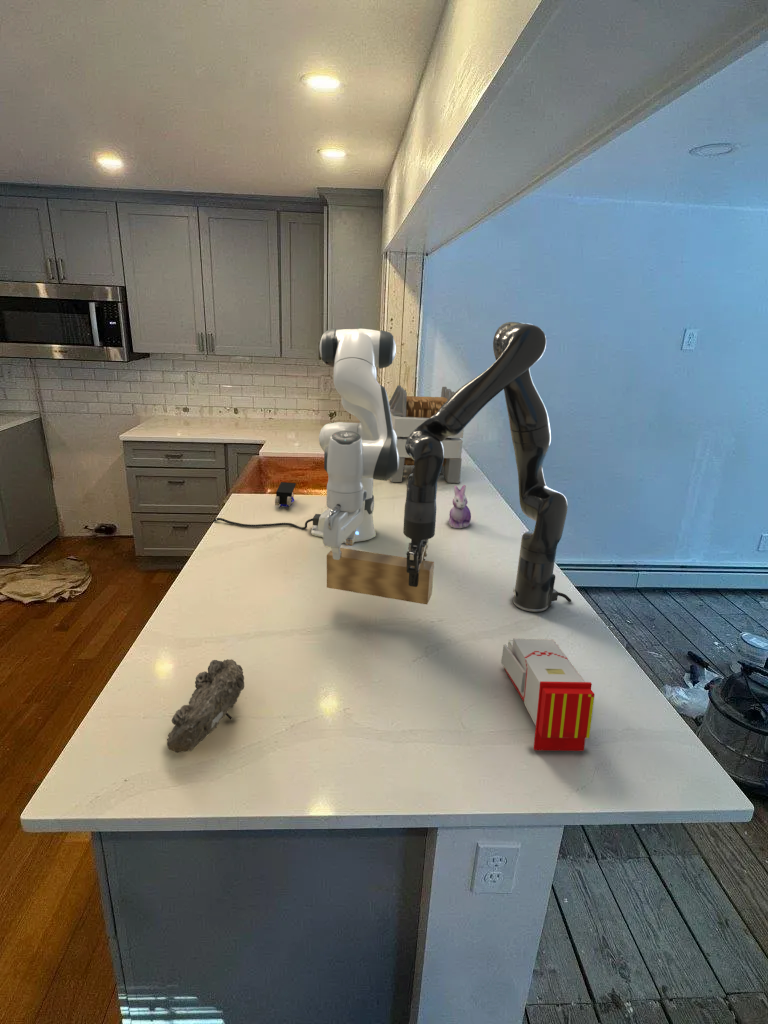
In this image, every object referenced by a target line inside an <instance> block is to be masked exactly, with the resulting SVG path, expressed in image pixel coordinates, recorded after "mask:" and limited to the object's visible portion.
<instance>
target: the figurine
mask: <svg viewBox="0 0 768 1024" xmlns="http://www.w3.org/2000/svg"><path fill="white" fill-rule="evenodd" d="M466 489H467V485H465V484H463V485H462V486H461V488H460V489H459V488H458V486H457V485H454V486H453V491H454V492H453V493H454V496H453V498H452V505H453V506H452V508H450V510H449V515H448V516H449V518H448V524H449V526H450V527H451V528H454V529H462V528H467V527H469V526H470V523H471V519H472V513H471V510H470V508H469V507H468V503H469V502H468V498H467V496H466Z"/></svg>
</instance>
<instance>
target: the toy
mask: <svg viewBox="0 0 768 1024" xmlns="http://www.w3.org/2000/svg"><path fill="white" fill-rule="evenodd" d="M500 661H501V662H500V663H501V664H502V666H503V668H504V671H505V673H506V674H507V676H508V678H509V679H510V681H511V684H512V685H513V686H514V688H515V691H517V693H518V695H519V696H520V699H521V700H522V702H523V704H524V706H525V708H526V711H527V712H528V714H529V716H530V718H531V720H532V723H533V724H534V726H535V731H534V741H533V750H534V751H554V752H555V751H556V752H557V751H558V752H564V751H565V752H584V751H585V743H586V739H590V737H591V736H590V735H591V727H592V718H593V710H594V702H595V692H593V690H592V685H593V684H592V682H590V681H585V679H584V678H583V676H582V675H581V674H580V673H579V672H578V670H577V669H576V668H575V666H574V665H573V663H572V662H571V661H570V659H569V658H568V657H567V655H566V654H565V653H564V651H563V650H562V649H561V648H560V646H559V644H558V643H557V642H556V640H554V638H517V637H515V638H512V639H508V643H507V644H503V647H502V653H501V660H500Z"/></svg>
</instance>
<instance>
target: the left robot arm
mask: <svg viewBox="0 0 768 1024" xmlns="http://www.w3.org/2000/svg"><path fill="white" fill-rule="evenodd" d="M318 347H319V355H320V358H321V361H322V362H323V363H324V364H325V365H327V366H329V367H333V371H332V372H333V375H332V377H333V387H334V389H335V391H336V393H338V395H339V396H340V397H341V398H340V399H341V401H340V403H341V406H342V408H343V410H344V411H346V412H347V413H348V414H350V415H352V416H354V417H355V418H356V419H357V420H359V422H348V421H336V422H330V423H325V424H324V425H323V426H322V427H321V429H320V431H319V434H318V442H319V446H320V448H321V450H322V451H323V453H324V454H323V457H324V459H323V462H324V463H323V468H324V471H325V472H326V473H327V476H328V479H327V484H326V509H325V510H323V512H321V513H315V514H314V515H313V517H312V518H309V519H307V520H306V521H305V522H304V526H303V527H301V526H299V525H297V524H294V523H291V522H275V523H274V522H273V523H261V524H260V523H259V524H250V523H249V524H247V523H241V522H235V521H231V520H228V519H225V518H222V517H217V518H213V520H212V523H215V522H217V521H221V522H224V523H227V524H229V525H236V526H239V527H245V528H246V527H247V528H262V527H263V528H264V527H275V526H276V527H277V526H291V527H293V528H296V529H299V530H306V529H307V528H308V524H309V523H310V522H312V528H311V530H310V533H311V536H315V537H319V538H322V544H323V546H324V547H325V548H329V549H330V551H331V550H332V552H333V559H335V560H339V559H340V558H341V557H342V555H341V554H342V551H340V548H342V544H345V545H346V546H350V547H352V546H353V545H354V544H355V543H357V542H365V541H368V540H372V539H373V538H375V537H376V535H377V532H376V528H375V523H374V513H373V512H374V509H375V496H374V480H377V481H384V482H385V481H388V480H390V478H391V477H393V476H394V475H395V474H396V473H397V471H398V468H399V454H398V450H397V447H396V446H397V435H396V433H395V431H394V429H393V426H392V419H391V413H390V407H389V401H390V400H389V397H388V393H387V390H386V388H385V386H383V385H381V384H380V383H379V382H378V379H377V378H378V377H377V375H378V374H377V368H378V369H379V370H381V369H384V368H388V367H389V366H391V365H392V364H393V361H394V360H395V357H396V355H397V354H396V353H397V344H396V341H395V339H394V335H393V334H392V333H391V332H390V331H387V330H382V329H381V330H377V329H369V328H346V329H345V328H343V329H337V328H331V329H327V330H326V331H324V332H323V333H322V336H321V339H320V341H319V346H318ZM216 519H217V520H216Z"/></svg>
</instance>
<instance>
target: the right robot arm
mask: <svg viewBox="0 0 768 1024" xmlns="http://www.w3.org/2000/svg"><path fill="white" fill-rule="evenodd" d="M546 347H547V336H546V334H545V332H544V330H543V329H542V328H541V327H539V326H537V325H535V324H532V323H527V322H519V321H507V322H504V323H502V324H501V325H500V326H499V327H498V328H497V329H496V331H495V333H494V335H493V341H492V348H493V349H492V351H493V354H494V358H495V361H494V362H493V363H492V364H491V365H490V366H489V367H487V369H485V370H483V372H481V373H480V374H479V375H477V376H475V377H474V378H472V379H471V380H470V381H468V382H466V383H465V384H463V385H462V386H461V387H460V388H458V389H457V390H456V391H454V392H455V393H454V394H453V395H452V396H451V397H450V398H449V399H448V400H447V401H446V402H445V404H444V405H443V406H442V407H441V408H440V409H439V410H438V412H437V413H436V414H434V415H433V416H431V417H430V418H428V419H427V420H426V421H425V422H423V423H422V424H421V425H419V426H418V427H417V428H416V429H415V430H414V431H413V432H412V433H411V434H410V435H409V437H408V438H407V441H406V444H405V450H406V453H407V454H408V456H409V457H410V458H412V459H413V460H414V466H413V468H412V469H413V471H412V473H410V474H409V475H408V478H407V481H406V496H405V502H404V512H403V533H402V534H403V535H404V536H405V537H406V538H408V539H410V542H408V548H407V551H406V558H407V570H406V571H407V573H409V586H413V587H417V586H418V577H419V571H420V570H419V569H420V564H421V563H422V562H423V560H425V561H427V560H426V558H427V556H428V548H429V540H430V539H432V538H433V537H435V535H436V533H435V532H436V522H437V493H438V492H437V491H438V481H439V477H440V475H441V468H442V465H443V460H444V448H443V445H442V443H441V442H442V441H443V440H444V439H445V438H447V437H449V436H456V435H457V434H459V433H460V432H461V431H462V430H463V428H464V429H465V428H466V427H467V426H468V424H470V422H471V421H472V420H473V419H474V418H475V417H476V416H477V415H478V414H479V412H481V411H482V410H483V408H484V407H485V406H487V405H488V404H489V403H490V402H491V401H492V400H493V399H494V398H495V397H496V396H497V395H498V394H500V393H501V392H502V391H503V392H504V399H505V405H506V410H507V415H508V416H507V417H508V423H509V429H510V435H511V441H512V445H513V451H514V457H515V458H514V459H515V465H516V470H517V481H518V498H519V506H520V509H521V512H522V514H524V515H525V517H528V518H529V519H531V520H532V521H535V523H534V524H535V525H534V529H533V530H529V531H528V530H527V531H525V532H524V533H523V534H522V535H521V541H520V548H519V549H520V550H519V557H518V564H517V570H516V578H515V585H514V588H512V592H513V598H512V603H513V605H514V606H515V607H516V608H518V609H519V610H521V611H522V610H523V611H526V612H530V613H540V612H544V611H546V610H547V609H548V608H551V606H552V602H556V601H558V597H562V598H564V599H565V600H566V601H567V602H568V603H572V599H571V598H570V597H569V596H568V595H567V594H566V593H562V592H560V591H558V590H556V589H555V582H556V574H555V573H554V568H555V562H556V556H557V549H558V545H559V543H560V541H561V539H562V537H563V534H564V528H565V525H566V519H567V516H568V505H569V504H568V499H567V497H566V496H565V495H564V494H563V493H561V492H559V491H557V490H555V489H552V488H550V487H549V486H547V484H546V479H545V475H544V461H545V459H546V456H547V454H548V452H549V449H550V447H551V442H552V433H551V432H552V431H551V425H550V418H549V413H548V411H547V408H546V406H545V403H544V402H543V399H542V398H541V396H540V393H539V392H538V389H537V388H536V386H535V384H534V381H533V379H532V378H533V377H532V376H531V370H530V369H531V367H533V366H534V365H536V363H537V362H538V361H539V360H540V359H541V358H542V356H544V353H545V351H546ZM418 559H419V560H418ZM412 566H414V567H415V568H413V567H412Z"/></svg>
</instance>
